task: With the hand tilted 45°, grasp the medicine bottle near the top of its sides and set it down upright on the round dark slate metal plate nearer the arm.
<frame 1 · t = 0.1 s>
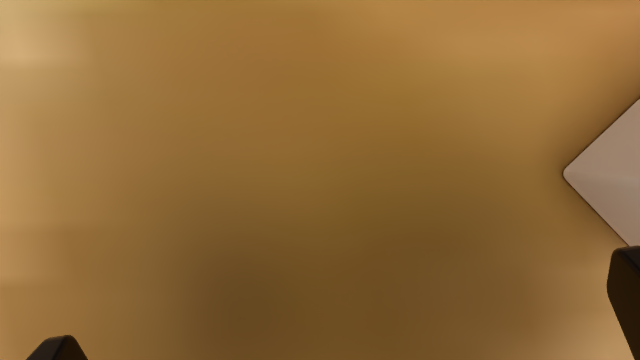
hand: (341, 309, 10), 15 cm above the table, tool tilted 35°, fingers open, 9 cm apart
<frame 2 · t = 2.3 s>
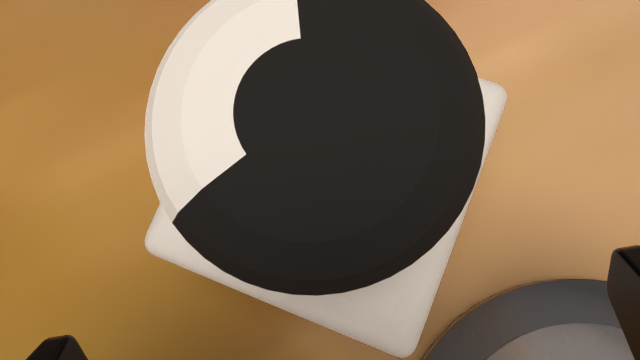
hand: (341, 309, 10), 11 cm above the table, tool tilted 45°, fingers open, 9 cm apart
medicine bottle: (336, 205, 22), on the table
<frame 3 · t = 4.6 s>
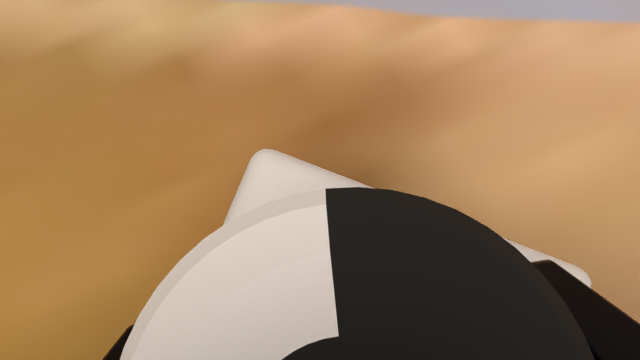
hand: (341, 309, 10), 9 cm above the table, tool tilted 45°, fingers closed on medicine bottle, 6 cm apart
medicine bottle: (357, 341, 18), on the table, touching gripper
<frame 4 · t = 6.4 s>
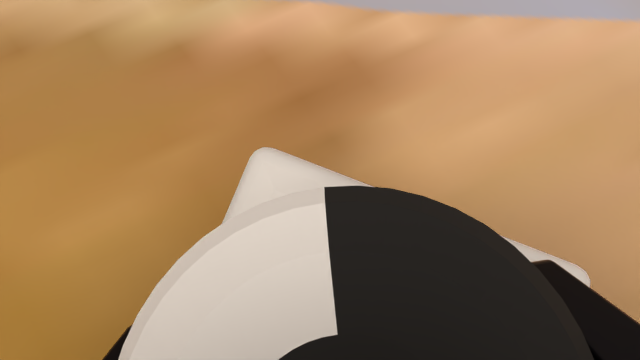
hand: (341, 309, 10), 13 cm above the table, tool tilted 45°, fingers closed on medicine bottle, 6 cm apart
medicine bottle: (356, 339, 18), point 4 cm above the table, touching gripper
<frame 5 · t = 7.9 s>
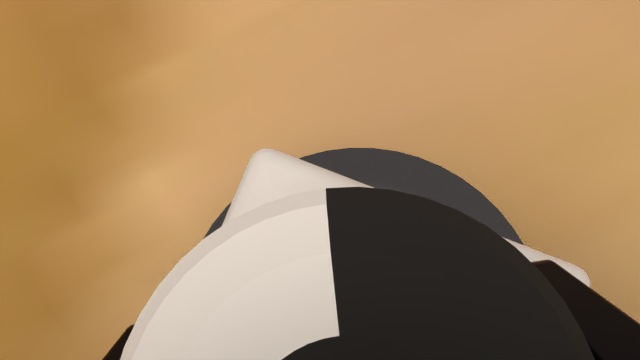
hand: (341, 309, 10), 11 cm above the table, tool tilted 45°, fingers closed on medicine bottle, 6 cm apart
medicine bottle: (356, 340, 18), point 2 cm above the table, touching gripper
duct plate: (359, 326, 20), on the table
when the fingers open (11 cm above the table, at t = 8.6 s): medicine bottle drops 1 cm, resting on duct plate.
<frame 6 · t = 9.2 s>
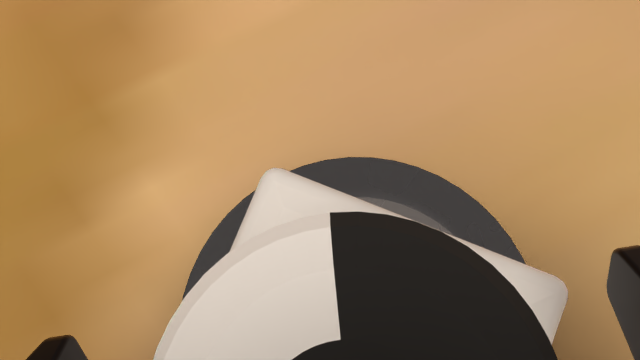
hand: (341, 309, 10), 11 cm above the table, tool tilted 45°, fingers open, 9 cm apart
medicine bottle: (357, 342, 20), point 1 cm above the table, touching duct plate
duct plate: (357, 334, 21), on the table
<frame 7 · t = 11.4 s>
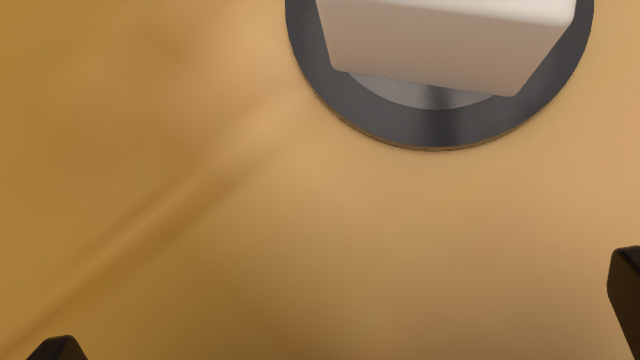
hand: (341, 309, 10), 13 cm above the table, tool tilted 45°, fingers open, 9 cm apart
medicine bottle: (435, 1, 24), point 1 cm above the table, touching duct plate
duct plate: (433, 7, 25), on the table
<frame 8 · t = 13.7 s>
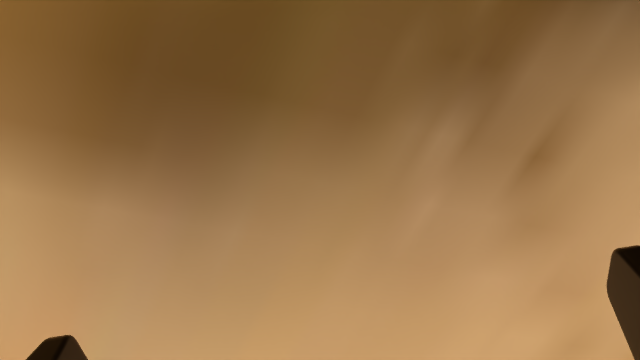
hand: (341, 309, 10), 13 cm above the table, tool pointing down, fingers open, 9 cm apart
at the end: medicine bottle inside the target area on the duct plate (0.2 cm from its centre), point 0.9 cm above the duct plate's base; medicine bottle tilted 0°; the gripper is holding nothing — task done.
